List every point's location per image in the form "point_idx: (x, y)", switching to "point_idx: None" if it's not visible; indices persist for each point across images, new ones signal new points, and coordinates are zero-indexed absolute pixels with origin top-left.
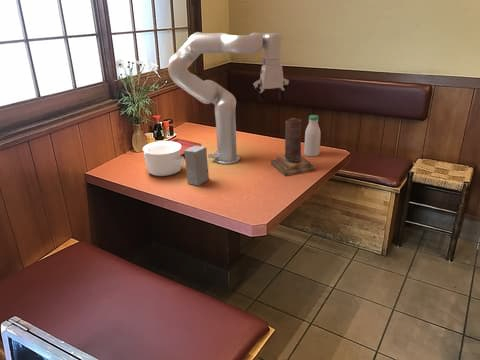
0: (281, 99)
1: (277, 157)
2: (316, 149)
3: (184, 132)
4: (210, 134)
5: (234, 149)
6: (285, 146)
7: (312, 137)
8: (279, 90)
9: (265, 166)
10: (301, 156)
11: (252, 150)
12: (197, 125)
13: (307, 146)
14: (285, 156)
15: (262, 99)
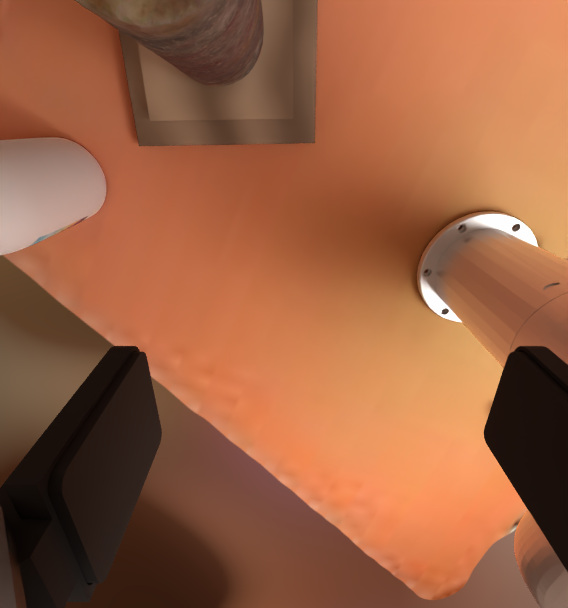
0: (136, 347)
1: (287, 116)
2: (29, 138)
3: (470, 543)
4: (400, 507)
5: (488, 252)
6: (260, 17)
7: (6, 150)
8: (91, 563)
9: (355, 114)
10: (146, 70)
11: (325, 324)
12: (401, 577)
13: (73, 168)
14: (263, 33)
15: (557, 364)
